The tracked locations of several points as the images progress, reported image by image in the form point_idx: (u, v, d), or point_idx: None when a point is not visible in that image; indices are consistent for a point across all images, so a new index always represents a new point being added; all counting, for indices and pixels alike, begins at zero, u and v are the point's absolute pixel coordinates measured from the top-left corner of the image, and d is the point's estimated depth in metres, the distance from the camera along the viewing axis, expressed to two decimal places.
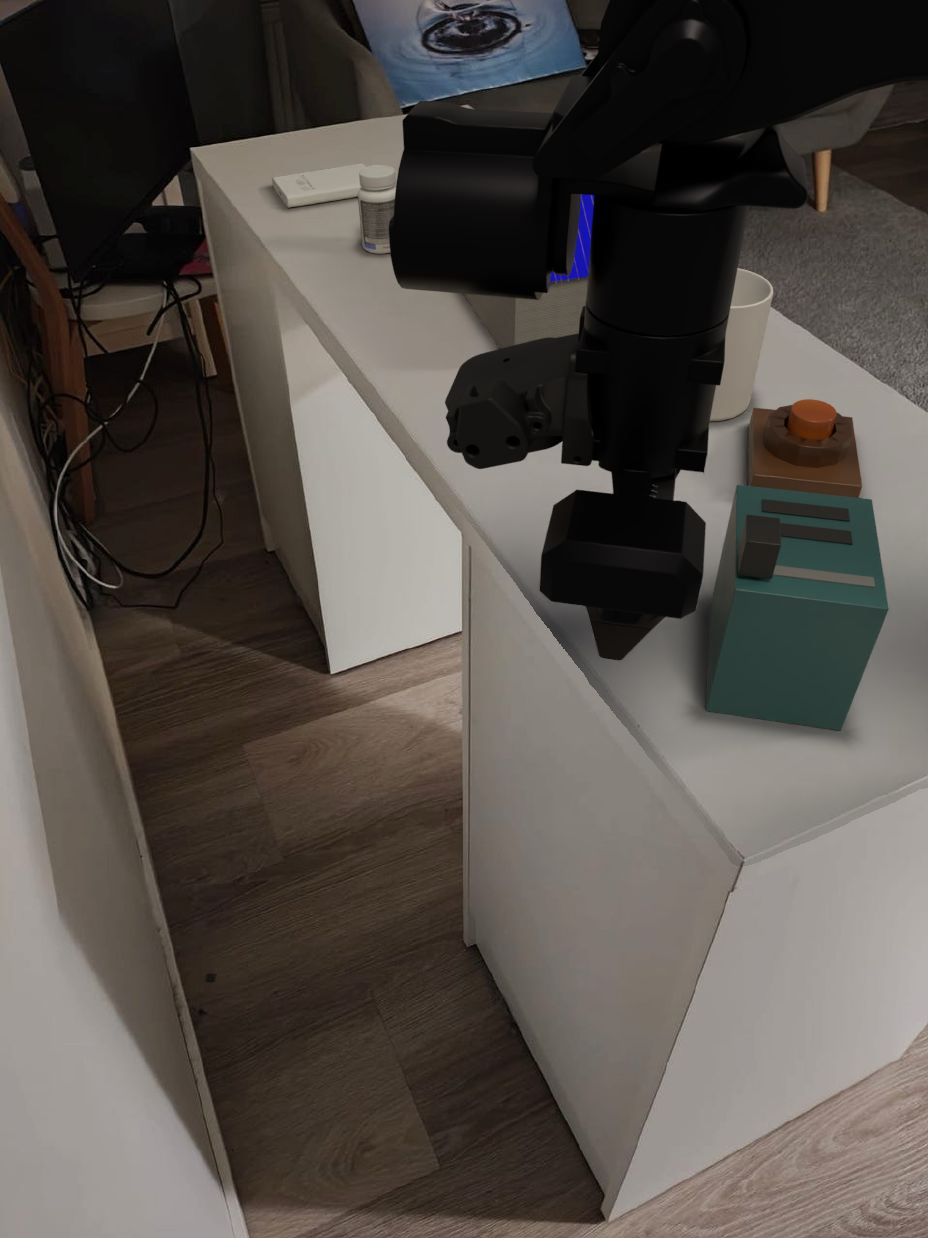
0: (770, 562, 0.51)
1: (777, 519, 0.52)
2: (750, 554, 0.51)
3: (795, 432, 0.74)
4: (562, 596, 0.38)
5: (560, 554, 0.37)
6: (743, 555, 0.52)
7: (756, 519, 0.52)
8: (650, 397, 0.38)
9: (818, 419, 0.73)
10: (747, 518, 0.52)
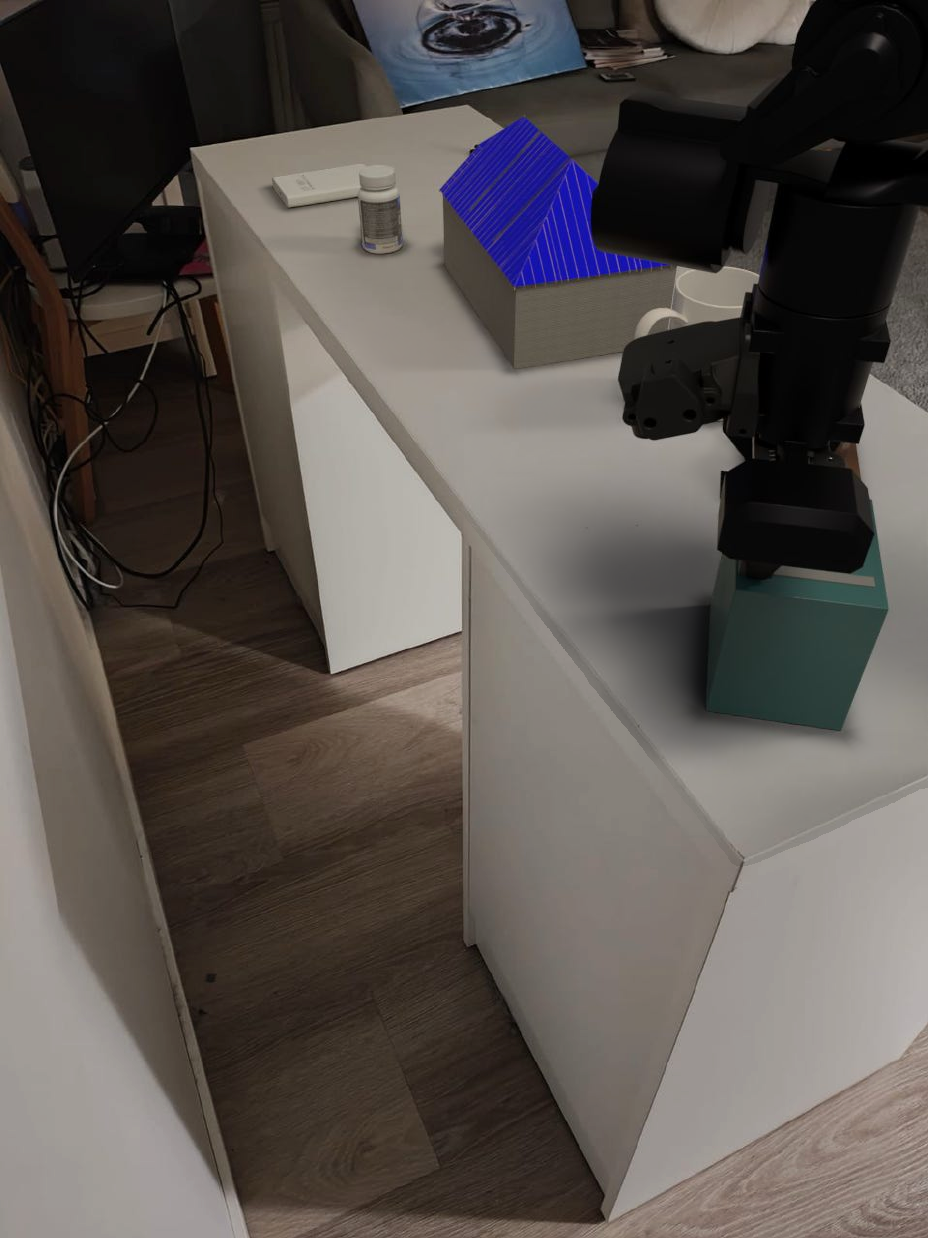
0: None
1: None
2: None
3: None
4: (741, 553, 0.41)
5: (744, 514, 0.40)
6: None
7: None
8: (819, 373, 0.42)
9: None
10: None
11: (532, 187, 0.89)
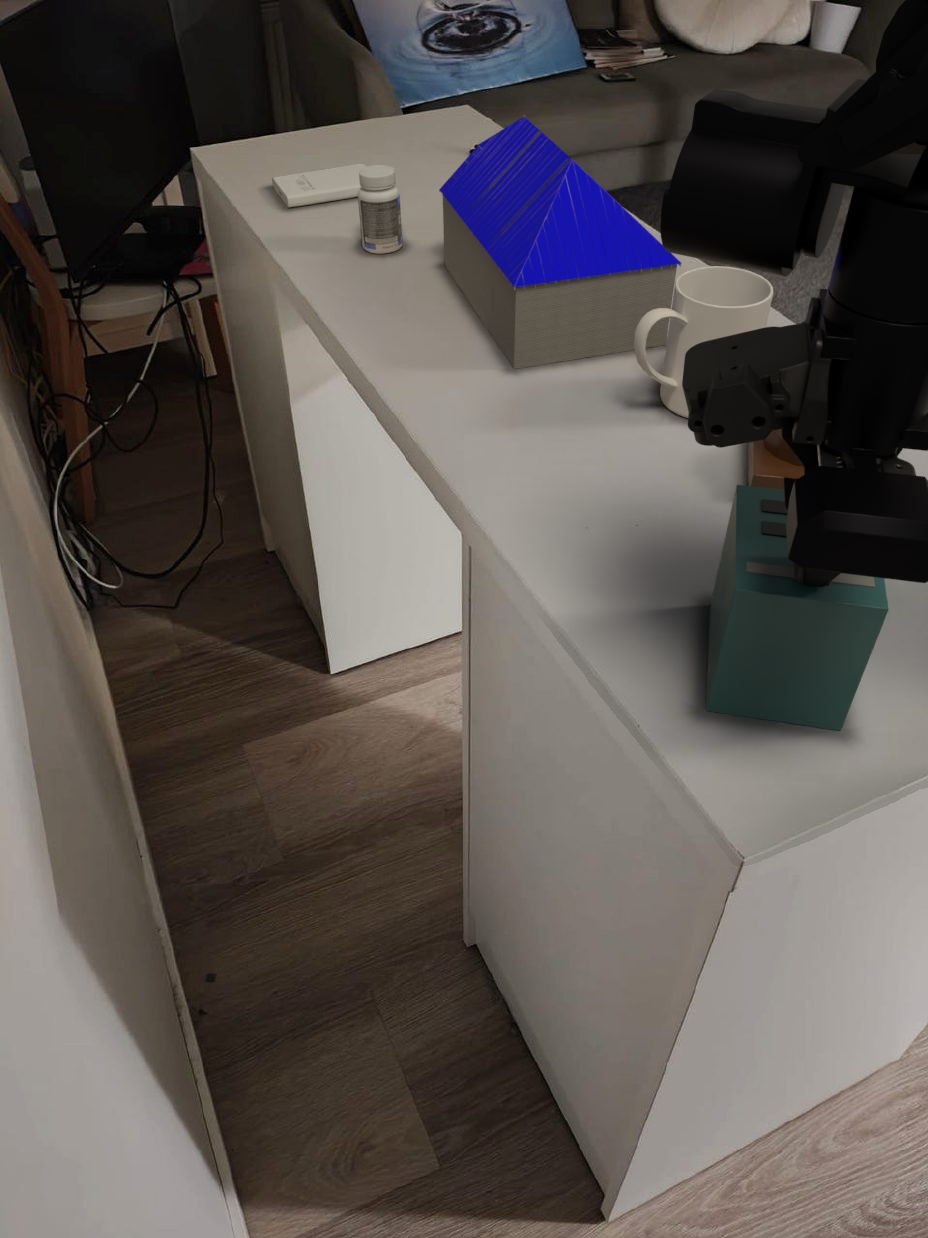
0: None
1: None
2: None
3: None
4: (814, 562, 0.41)
5: (818, 523, 0.40)
6: None
7: None
8: (891, 380, 0.42)
9: None
10: None
11: (532, 187, 0.89)
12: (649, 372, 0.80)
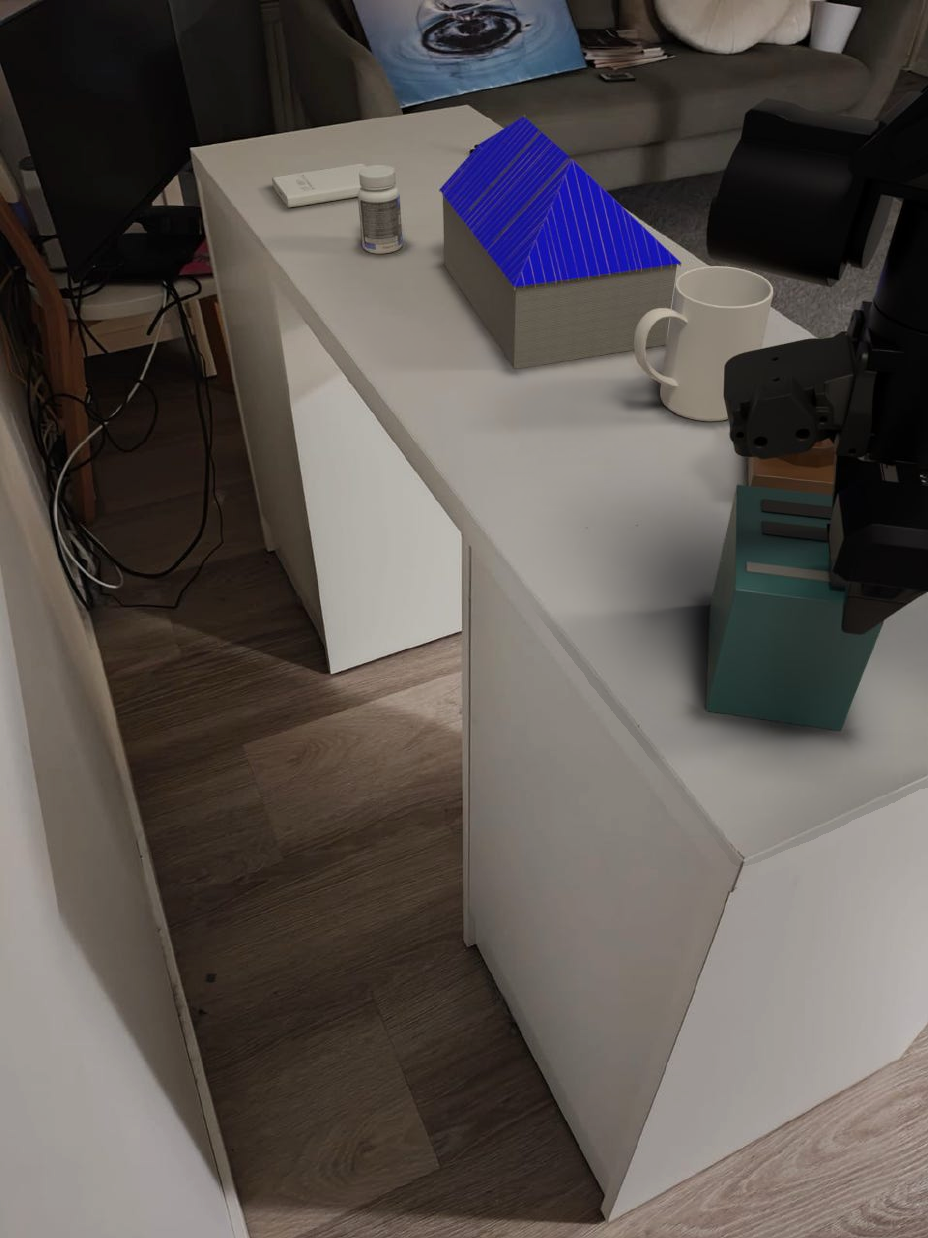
0: None
1: None
2: None
3: None
4: (860, 575, 0.41)
5: (866, 537, 0.40)
6: None
7: None
8: None
9: None
10: None
11: (532, 187, 0.89)
12: (649, 372, 0.80)
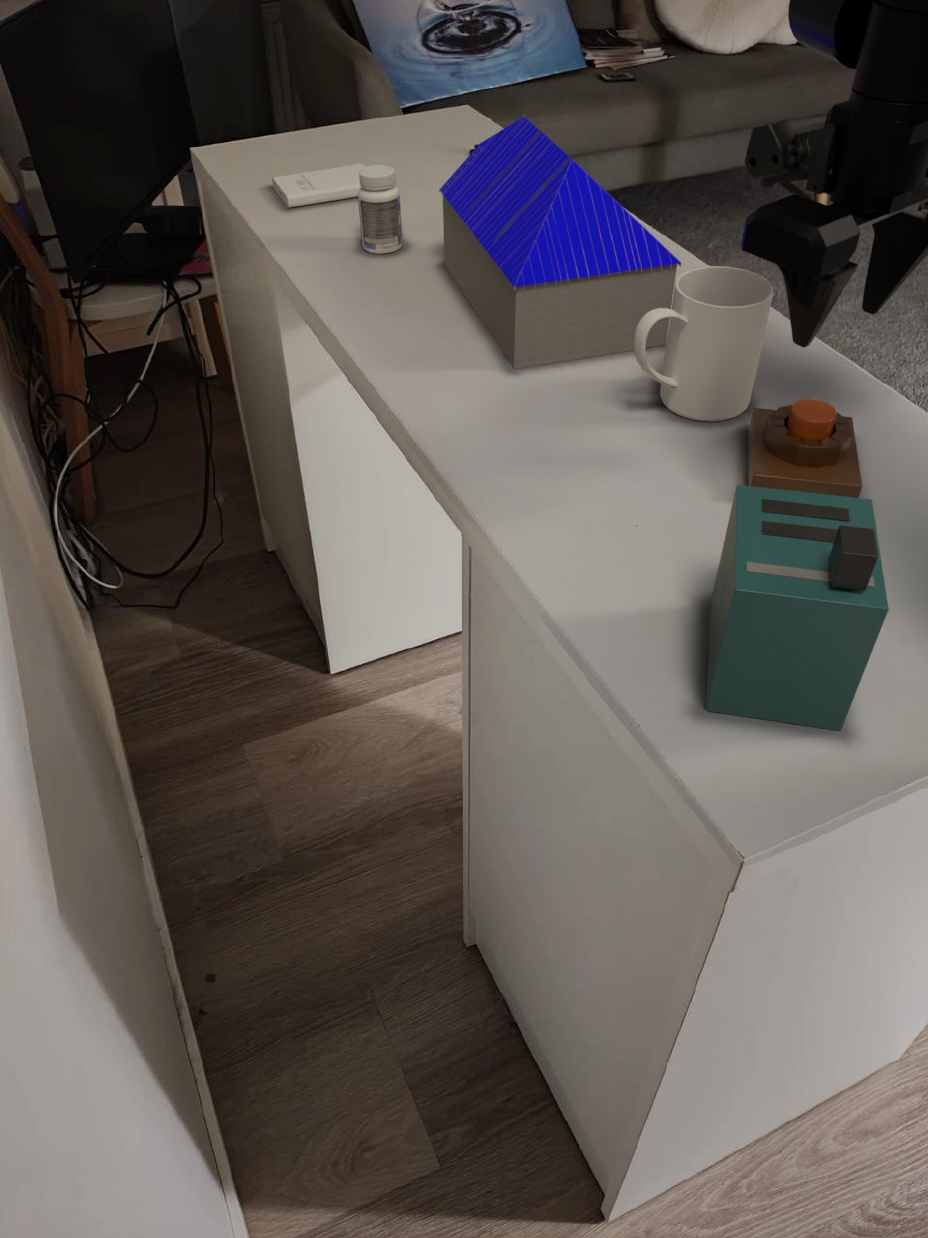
0: (865, 574, 0.51)
1: (871, 530, 0.51)
2: (845, 566, 0.51)
3: (795, 432, 0.74)
4: (748, 246, 0.61)
5: (754, 215, 0.60)
6: (838, 567, 0.51)
7: (849, 530, 0.51)
8: (864, 145, 0.59)
9: (818, 419, 0.73)
10: (840, 529, 0.51)
11: (532, 187, 0.89)
12: (649, 372, 0.80)
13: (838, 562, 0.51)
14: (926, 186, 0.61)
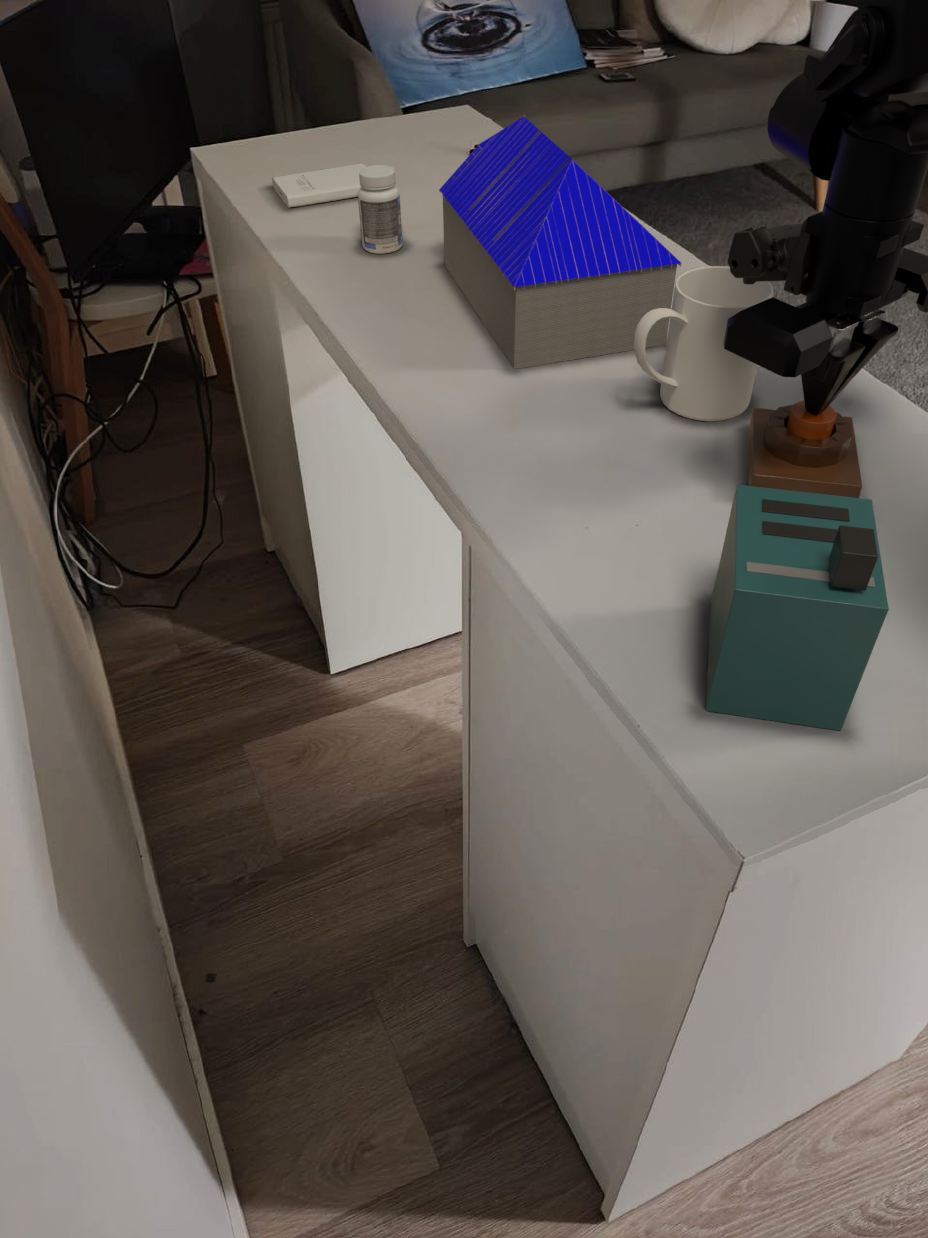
0: (865, 574, 0.51)
1: (871, 530, 0.51)
2: (845, 566, 0.51)
3: (795, 433, 0.74)
4: (730, 345, 0.66)
5: (735, 318, 0.65)
6: (838, 567, 0.51)
7: (849, 530, 0.51)
8: (836, 255, 0.64)
9: (817, 420, 0.73)
10: (840, 529, 0.51)
11: (532, 187, 0.89)
12: (649, 372, 0.80)
13: (838, 562, 0.51)
14: (895, 290, 0.66)
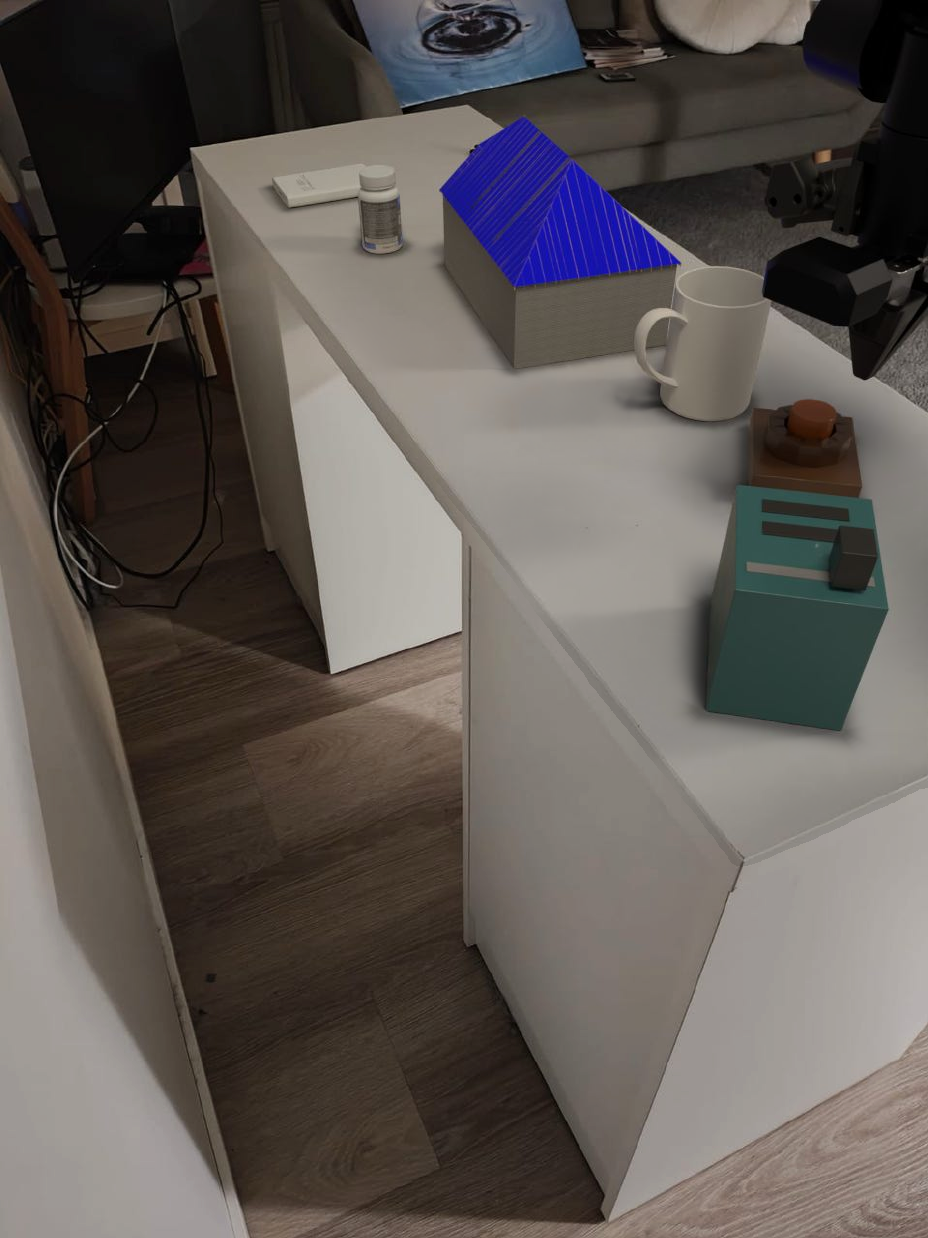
0: (865, 574, 0.51)
1: (871, 530, 0.51)
2: (845, 566, 0.51)
3: (795, 432, 0.74)
4: (770, 293, 0.56)
5: (776, 259, 0.56)
6: (838, 567, 0.51)
7: (849, 530, 0.51)
8: (895, 184, 0.54)
9: (817, 419, 0.73)
10: (840, 529, 0.51)
11: (532, 187, 0.89)
12: (649, 372, 0.80)
13: (838, 562, 0.51)
14: None
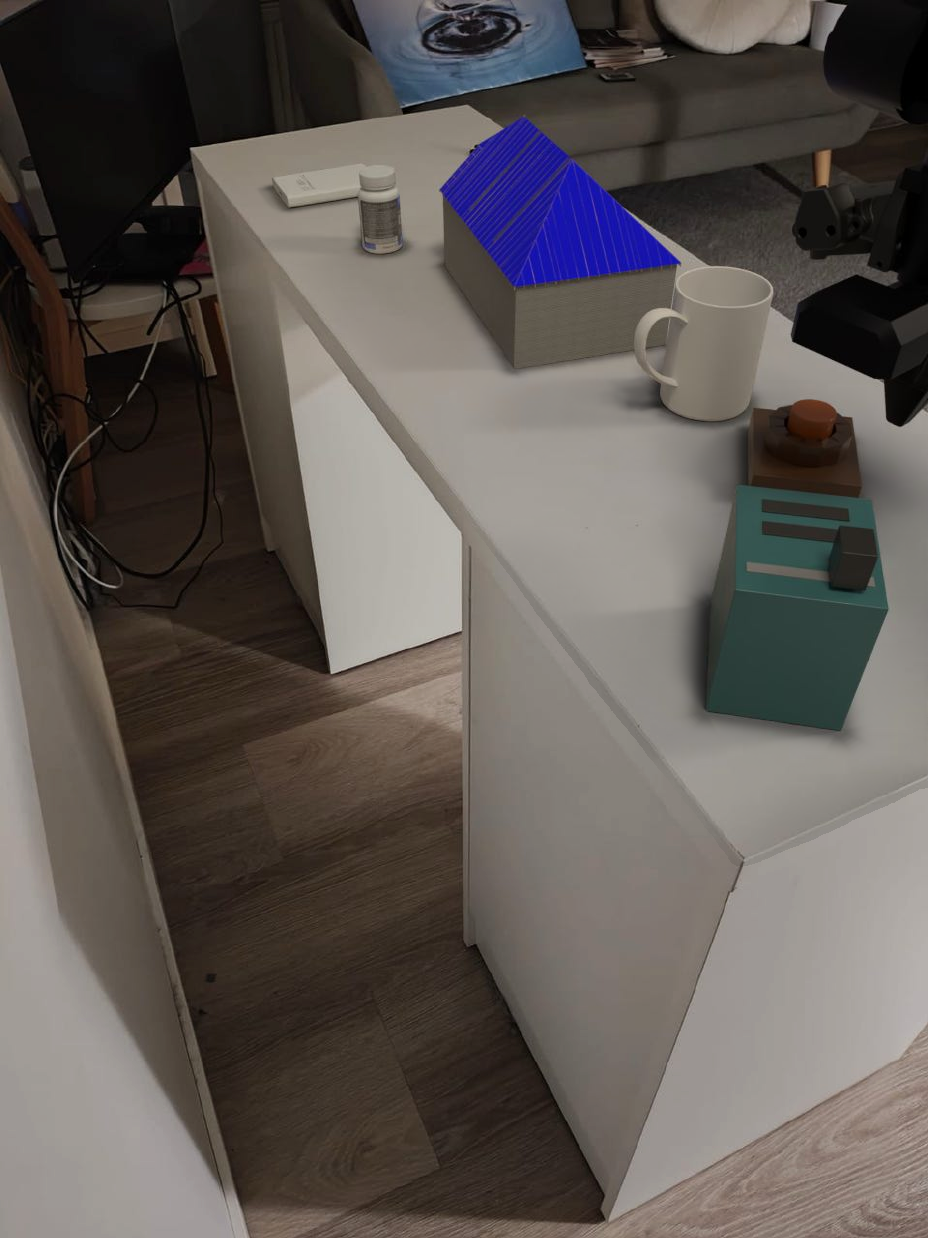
0: (865, 574, 0.51)
1: (871, 530, 0.51)
2: (845, 566, 0.51)
3: (795, 432, 0.74)
4: (800, 338, 0.50)
5: (808, 301, 0.49)
6: (838, 567, 0.51)
7: (849, 530, 0.51)
8: None
9: (817, 419, 0.73)
10: (840, 529, 0.51)
11: (532, 187, 0.89)
12: (649, 372, 0.80)
13: (838, 562, 0.51)
14: None
